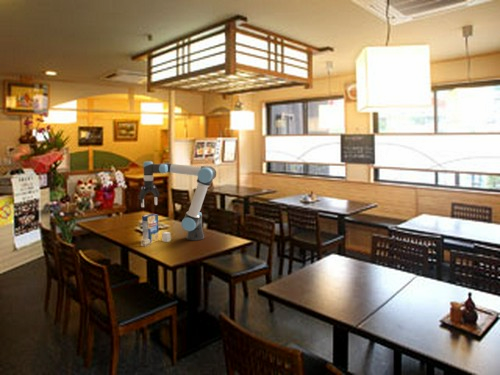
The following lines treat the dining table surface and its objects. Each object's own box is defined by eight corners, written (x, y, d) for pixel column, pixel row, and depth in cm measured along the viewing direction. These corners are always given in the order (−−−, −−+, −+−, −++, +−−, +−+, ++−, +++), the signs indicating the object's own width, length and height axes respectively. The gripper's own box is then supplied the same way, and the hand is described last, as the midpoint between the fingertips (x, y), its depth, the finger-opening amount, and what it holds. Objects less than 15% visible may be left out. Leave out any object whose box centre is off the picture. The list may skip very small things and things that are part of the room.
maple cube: (150, 245, 294) (150, 239, 293) (145, 246, 290) (144, 240, 289) (146, 244, 297) (146, 238, 296) (141, 245, 293) (140, 239, 292)
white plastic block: (170, 240, 308) (170, 232, 308) (167, 242, 304) (167, 233, 303) (165, 239, 310) (165, 231, 309) (162, 241, 306) (162, 233, 305)
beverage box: (143, 242, 304) (142, 216, 301) (153, 239, 313) (152, 213, 310) (148, 243, 300) (147, 216, 297) (158, 240, 309) (158, 214, 306)
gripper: (157, 178, 312) (158, 203, 315) (132, 181, 292) (133, 207, 295) (163, 179, 308) (164, 204, 310) (138, 182, 288) (139, 208, 290)
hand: (149, 205), depth 303 cm, fingers open, 13 cm apart
